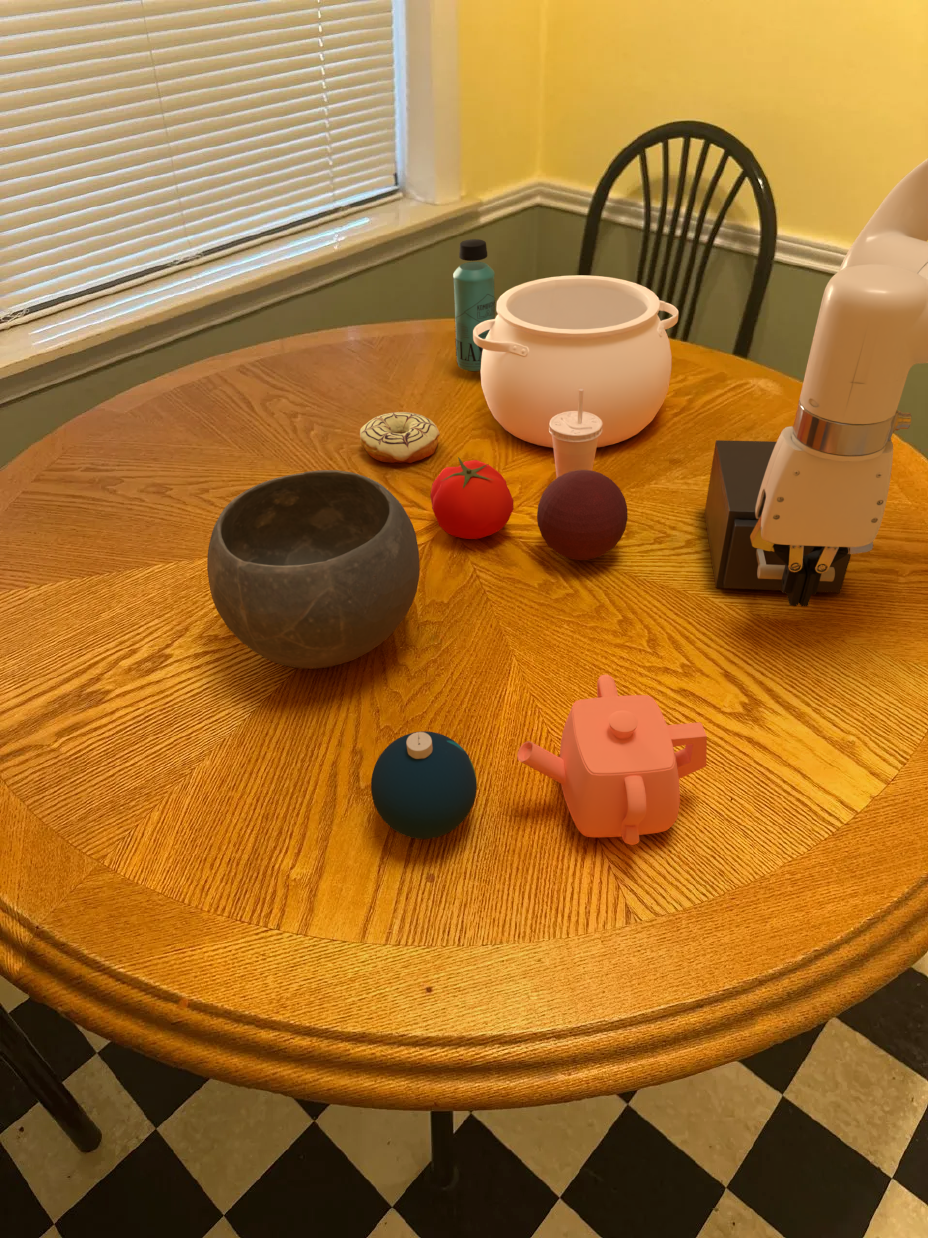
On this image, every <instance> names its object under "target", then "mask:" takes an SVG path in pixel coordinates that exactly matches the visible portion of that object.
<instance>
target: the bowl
mask: <svg viewBox="0 0 928 1238" xmlns="http://www.w3.org/2000/svg"><path fill="white" fill-rule="evenodd" d="M418 544H419V543H418V539H417V534H416V531H415V528H414V525H413V523H412V520H411V519H410V516H409V514H408V512H407V511H406V509H405V508H404V506H403V504H402V503H401V502H400V501H399V499H397V498H396V497H395V495H394V494H393V493H392V492H391V491H390V490H389V489H387V487H385V486H384V485H383V484H381V483H379V482H378V481H376V480H374V479H372V478H371V477H367V476H364V475H362V474H359V473H355V472H352V471H345V470H339V469H319V470H318V469H317V470H310V471H304V472H300V473H293V474H288V475H284V476H279V477H274V478H271V479H268V480H266V481H263V482H261V483H258V484H256V485H254V486H252V487H250V488H248V489H246V490H244V491H242V492H241V493H240V494H238V495H237V496H236V497H235V498H233V499H232V500H230V502H229V503H228V504H226V506H225V507H224V508H223V510H222V511H221V513H220V514H219V516H218V518H217V520H216V521H215V524H214V526H213V529H212V531H211V535H210V539H209V544H208V547H207V548H208V549H207V556H206V557H207V562H206V565H207V570H206V571H207V578H208V585H209V591H210V593H211V594H210V595H211V599H212V602H213V605H214V606H215V607H214V608H215V609H216V611H217V613H218V615H219V616H220V618H221V619H222V621H223V622H224V624H225V625H226V627H227V629H228V630H229V631H230V632H231V633H232V634H233V635H234V636H235V638H237V639H238V640H239V641H240V642H241V643H242V644H243V645H245V646H246V647H247V648H249V649H250V650H251V651H252V652H254V653H255V654H257V655H259V656H261V657H263V658H264V659H266V660H268V661H271V662H272V663H275V664H278V665H282V666H285V667H290V668H296V669H305V670H306V669H308V670H310V669H313V670H314V669H315V670H316V669H325V668H331V667H335V666H339V665H342V664H346V663H349V662H351V661H355V660H357V659H358V658H361V657H362V656H364V655H366V654H368V653H370V652H372V651H373V650H374V649H376V648H377V647H378V646H380V645H381V644H382V643H384V642H385V641H386V640H387V639H388V638H390V636H391V635H393V633H394V632H395V631H396V630H397V628H398V627H399V626H400V625H401V623H402V622H403V621H404V619H405V617H406V616H407V614H408V613H409V611H410V609H411V607H412V605H413V603H414V600H415V597H416V594H417V592H418V586H419V580H420V551H419V545H418Z"/></svg>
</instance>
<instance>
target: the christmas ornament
mask: <svg viewBox="0 0 928 1238" xmlns="http://www.w3.org/2000/svg"><path fill="white" fill-rule="evenodd" d="M473 763H474V762H473V761H472V759H471V758H470V756H469V754H468V753H467V752H466V750H465V749H464V748H463V746H461V745H460V744H459V743H458V742H456V741H455V740H454V739H452V738H450V737H449V736H447V735H444V734H442V733H438V732H434V731H426V730H425V731H413V732H411V733H407V734H404V735H402V736H400V737H398V738H397V739H395V740H394V741H392V742H391V743H390V744H388V745H387V747H385V748H384V749H383V751H382V752H381V754H380V755H379V756H378V758H377V760H376V762H375V765H374V767H373V770H372V774H371V780H370V792H371V798H372V802H373V805H374V808H375V810H376V811H377V813H378V815H379V816H380V818H381V820H383V822H384V823H385V824H386V825H387V826H388V827H389V828H390V829H392V830H393V831H394V832H396V833H398V834H400V835H402V836H405V837H408V838H411V839H416V840H430V839H435V838H439V837H443V836H445V835H447V834H449V833H450V832H451V833H452V831H454V830H455V829H457V827H459V826H460V825H461V824H462V823H463V822H464V821H465V819H466V818H467V817H468V816H469V814H470V812H471V810H472V808H473V806H474V803H475V800H476V797H477V790H478V781H477V774H476V770H475V766H474V764H473Z"/></svg>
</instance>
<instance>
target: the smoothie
mask: <svg viewBox="0 0 928 1238" xmlns="http://www.w3.org/2000/svg"><path fill="white" fill-rule="evenodd" d="M583 391H584V389H579V396H578V411H568V412H563V413H560V414H558V415H556V416H554V417H553V418H552V419H551V420H550V427H549V432H550V434H551V435H552V440H553V448H552V449H553V457H554V467H555V475H556V478H558V477H559V476H561V475H563V474H566V473H568V472H571V471H575V470H591V471H593V467H594V464H595V463H594V462H595V457H596V453H597V448H598V447H597V443H598V437H599V436H600V435H601V433H602V420H601V419H600V418H599V417H598V416H596V415H594V414H592V413H588V412H583Z"/></svg>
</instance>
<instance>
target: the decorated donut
mask: <svg viewBox="0 0 928 1238" xmlns="http://www.w3.org/2000/svg"><path fill="white" fill-rule="evenodd" d="M440 435H441V433H440V430H439V429H438V426H437V424H435V422H434V421H432V420H431V418H428V417H426V416H424V415H422V414H419V413H415V412H410V411H398V412H397V411H396V412H395V411H394V412H388V413H383V414H380V415H378V416H375V417H373V418H372V419H370V420H369V421H367V422H366V423H365V424H364V425H362V426H361V428H360V429H359V442H360V444H361V445H362V448H364V450H365V451H366V453H367V454H368V455H369V456H370V457H371V458H373V459H375V460H376V461H380V462H382V463H391V464H395V463H398V464H399V463H401V464H403V463H407V464H412V463H414V462H418V461H421V460H424V459H425V458H428V457H431V456H432V455H433V454H435V451H436V449H437V447H438V444H439V437H440Z"/></svg>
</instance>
